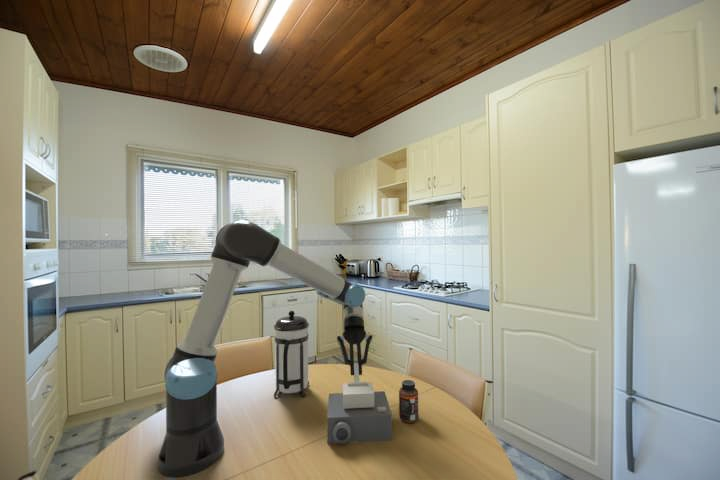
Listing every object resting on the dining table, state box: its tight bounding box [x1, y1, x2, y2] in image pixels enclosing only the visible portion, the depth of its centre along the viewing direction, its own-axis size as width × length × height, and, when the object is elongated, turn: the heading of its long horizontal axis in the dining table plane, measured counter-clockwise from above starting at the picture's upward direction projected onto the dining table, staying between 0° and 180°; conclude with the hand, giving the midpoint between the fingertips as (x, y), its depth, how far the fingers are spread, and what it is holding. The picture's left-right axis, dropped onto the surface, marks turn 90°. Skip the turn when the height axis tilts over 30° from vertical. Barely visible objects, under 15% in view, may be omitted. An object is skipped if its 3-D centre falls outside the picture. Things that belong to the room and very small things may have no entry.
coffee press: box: [273, 310, 310, 399], centre depth 116 cm, size 17×16×30 cm
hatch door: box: [342, 381, 375, 409], centre depth 93 cm, size 9×7×5 cm
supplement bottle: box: [398, 379, 419, 424], centre depth 97 cm, size 6×6×11 cm
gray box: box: [326, 390, 393, 444], centre depth 92 cm, size 18×16×8 cm
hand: (356, 384), depth 100 cm, fingers closed
